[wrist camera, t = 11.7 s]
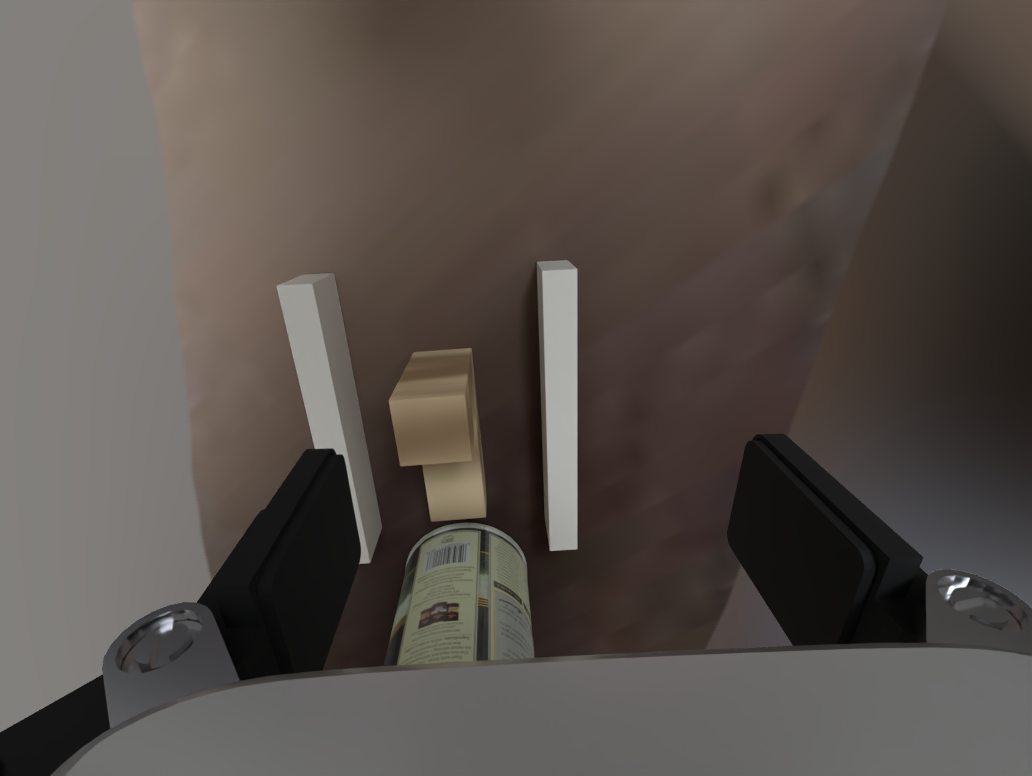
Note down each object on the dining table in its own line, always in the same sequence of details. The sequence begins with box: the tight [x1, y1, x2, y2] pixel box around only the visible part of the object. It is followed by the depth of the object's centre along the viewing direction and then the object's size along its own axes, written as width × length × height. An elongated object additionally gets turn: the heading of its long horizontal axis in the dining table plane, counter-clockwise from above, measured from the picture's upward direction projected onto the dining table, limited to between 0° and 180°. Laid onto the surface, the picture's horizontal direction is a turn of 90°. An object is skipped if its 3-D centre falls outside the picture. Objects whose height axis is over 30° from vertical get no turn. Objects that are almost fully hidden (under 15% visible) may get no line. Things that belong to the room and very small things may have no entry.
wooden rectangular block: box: [389, 348, 487, 522], centre depth 31 cm, size 12×4×8 cm, turn 4°
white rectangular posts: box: [277, 260, 577, 564], centre depth 33 cm, size 20×17×4 cm
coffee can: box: [384, 522, 534, 666], centre depth 34 cm, size 10×10×14 cm
